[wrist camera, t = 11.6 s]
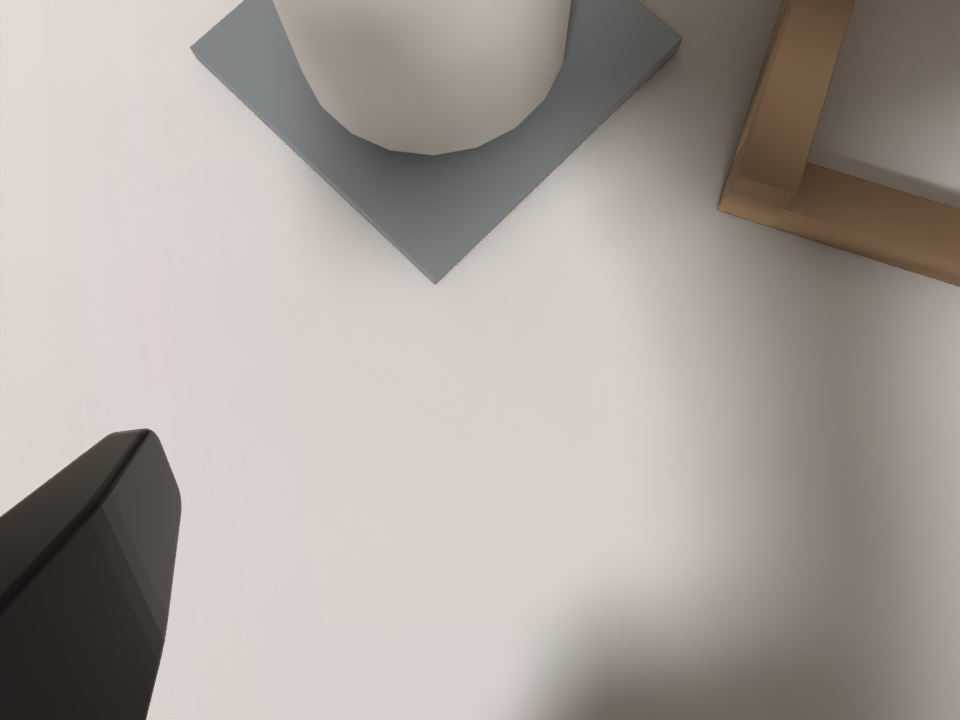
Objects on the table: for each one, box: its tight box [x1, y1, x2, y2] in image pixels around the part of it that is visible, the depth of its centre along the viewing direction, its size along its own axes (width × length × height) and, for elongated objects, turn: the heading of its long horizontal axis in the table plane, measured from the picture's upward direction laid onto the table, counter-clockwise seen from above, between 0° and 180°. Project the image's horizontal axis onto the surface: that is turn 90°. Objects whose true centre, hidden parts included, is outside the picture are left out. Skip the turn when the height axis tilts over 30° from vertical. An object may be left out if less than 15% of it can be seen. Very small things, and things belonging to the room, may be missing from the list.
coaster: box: [190, 0, 682, 285], centre depth 25 cm, size 10×10×1 cm
